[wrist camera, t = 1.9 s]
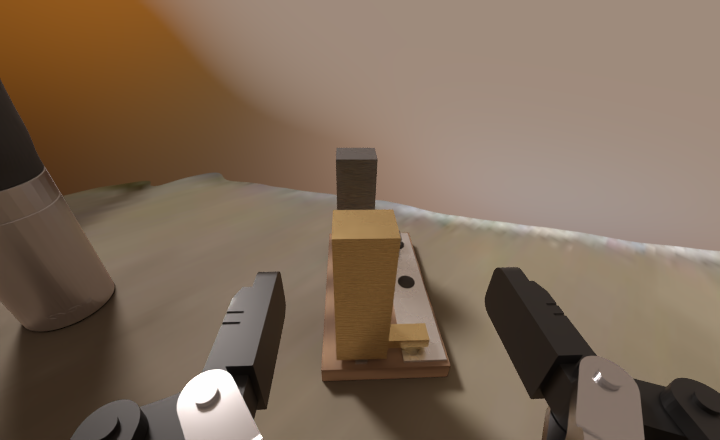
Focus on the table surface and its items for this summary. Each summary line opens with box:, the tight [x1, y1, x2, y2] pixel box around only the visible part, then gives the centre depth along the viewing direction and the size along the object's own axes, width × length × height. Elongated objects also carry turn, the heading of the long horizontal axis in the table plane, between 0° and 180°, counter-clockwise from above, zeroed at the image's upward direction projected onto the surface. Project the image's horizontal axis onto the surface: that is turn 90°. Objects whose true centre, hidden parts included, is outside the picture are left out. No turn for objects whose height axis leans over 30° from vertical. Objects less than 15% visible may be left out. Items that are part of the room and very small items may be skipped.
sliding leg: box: [332, 210, 430, 360], centre depth 28 cm, size 4×10×15 cm, turn 93°
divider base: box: [321, 148, 450, 381], centre depth 36 cm, size 23×13×17 cm, turn 3°
